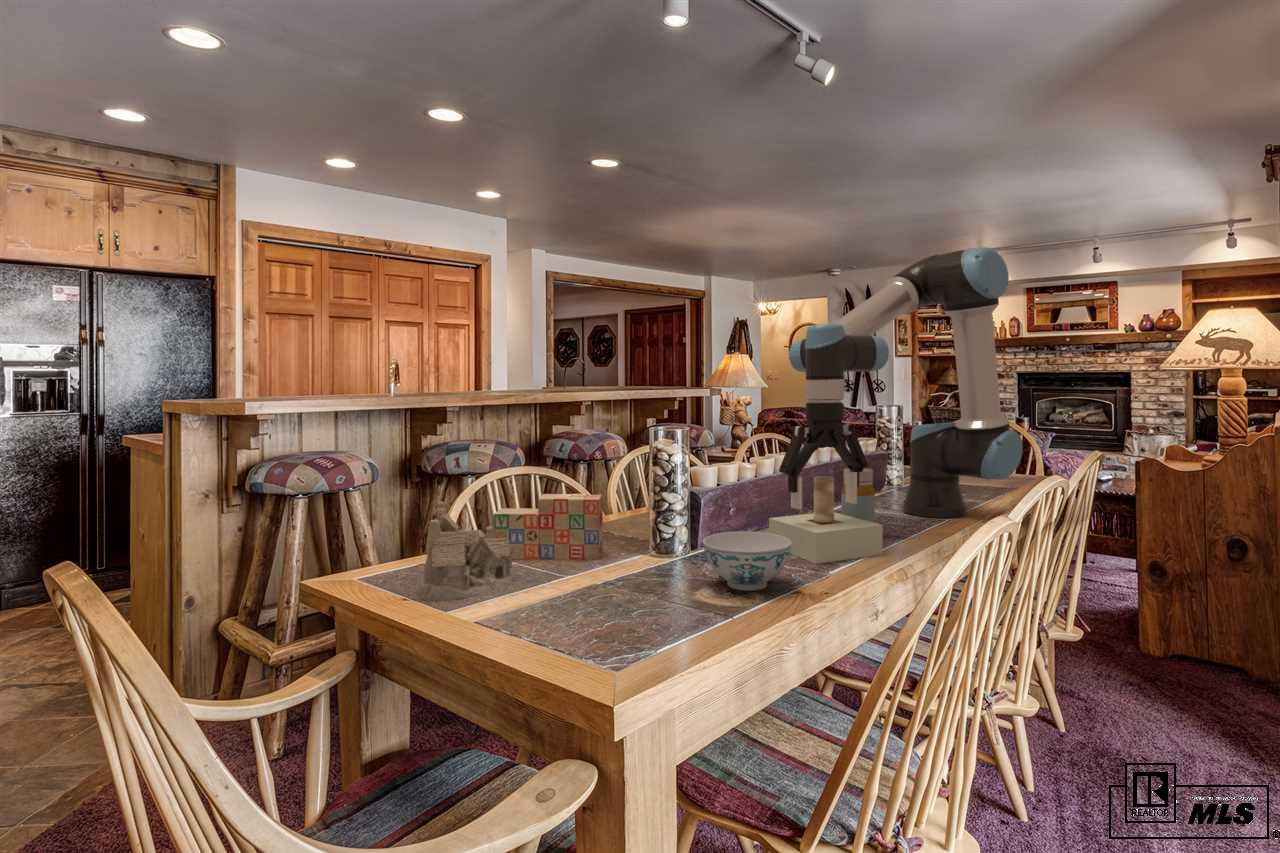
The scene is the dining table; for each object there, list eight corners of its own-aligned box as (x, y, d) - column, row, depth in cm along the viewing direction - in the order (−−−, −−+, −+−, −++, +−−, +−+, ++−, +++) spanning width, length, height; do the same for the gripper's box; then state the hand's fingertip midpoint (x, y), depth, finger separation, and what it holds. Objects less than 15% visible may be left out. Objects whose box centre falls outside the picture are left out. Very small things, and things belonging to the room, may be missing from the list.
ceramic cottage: (407, 601, 117) (411, 509, 117) (433, 577, 133) (436, 496, 133) (503, 604, 117) (507, 513, 117) (517, 580, 134) (521, 500, 133)
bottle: (834, 535, 160) (834, 468, 159) (858, 532, 163) (859, 466, 162) (856, 542, 154) (856, 472, 153) (881, 538, 157) (881, 470, 156)
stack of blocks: (493, 559, 144) (492, 498, 143) (501, 552, 150) (500, 493, 149) (600, 559, 143) (599, 498, 142) (603, 552, 149) (602, 493, 148)
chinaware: (803, 579, 126) (803, 536, 126) (773, 603, 113) (773, 555, 113) (724, 569, 134) (724, 528, 133) (688, 590, 121) (687, 545, 120)
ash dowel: (825, 542, 150) (825, 475, 149) (838, 546, 146) (838, 478, 145) (809, 544, 148) (809, 477, 147) (821, 548, 144) (821, 479, 143)
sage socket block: (830, 538, 158) (831, 511, 157) (882, 554, 143) (882, 524, 142) (769, 546, 151) (769, 518, 151) (816, 563, 137) (816, 532, 136)
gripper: (861, 399, 153) (860, 497, 155) (761, 402, 143) (762, 507, 145) (886, 400, 146) (885, 503, 148) (783, 403, 137) (783, 514, 138)
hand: (824, 505), depth 146 cm, fingers open, 13 cm apart
